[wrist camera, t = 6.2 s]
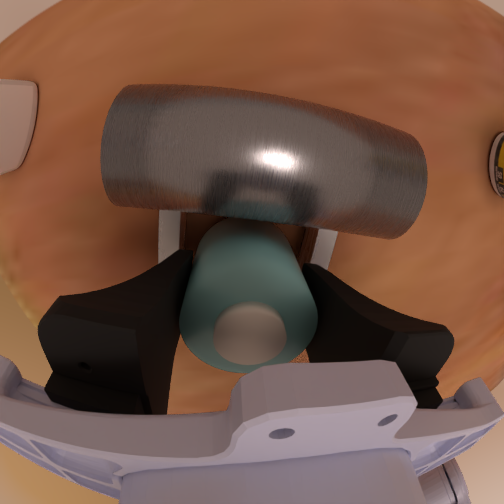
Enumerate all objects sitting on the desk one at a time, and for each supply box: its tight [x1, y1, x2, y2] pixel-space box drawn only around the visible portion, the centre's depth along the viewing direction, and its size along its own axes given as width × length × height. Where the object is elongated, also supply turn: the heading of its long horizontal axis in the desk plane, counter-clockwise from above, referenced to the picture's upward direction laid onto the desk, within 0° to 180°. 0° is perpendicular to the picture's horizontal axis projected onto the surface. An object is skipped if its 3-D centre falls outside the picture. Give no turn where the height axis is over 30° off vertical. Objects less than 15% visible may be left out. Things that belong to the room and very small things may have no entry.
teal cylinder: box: [179, 217, 318, 373], centre depth 11 cm, size 5×5×6 cm
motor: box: [101, 84, 427, 271], centre depth 11 cm, size 11×12×6 cm
